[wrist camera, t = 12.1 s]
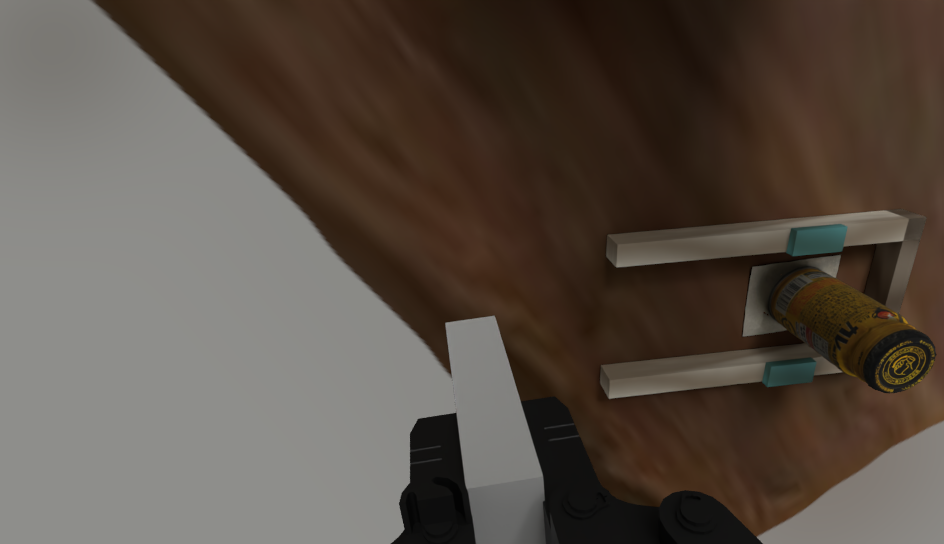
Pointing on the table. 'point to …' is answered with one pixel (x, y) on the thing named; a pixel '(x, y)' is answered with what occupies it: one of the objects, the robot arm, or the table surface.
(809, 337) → the condiment
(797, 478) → the table surface
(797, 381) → the rail track
